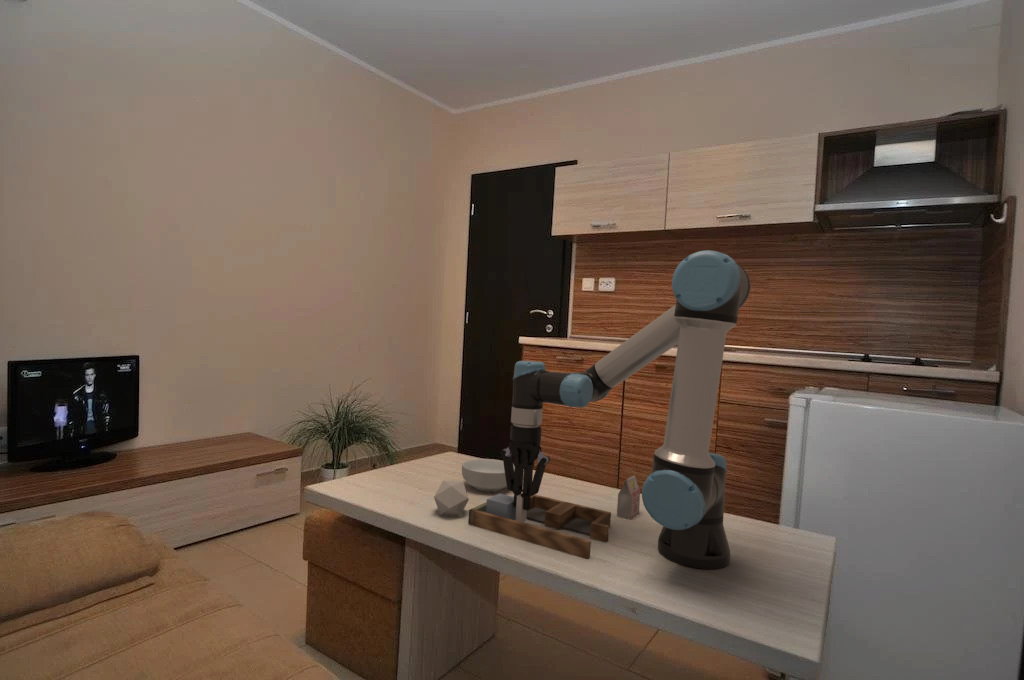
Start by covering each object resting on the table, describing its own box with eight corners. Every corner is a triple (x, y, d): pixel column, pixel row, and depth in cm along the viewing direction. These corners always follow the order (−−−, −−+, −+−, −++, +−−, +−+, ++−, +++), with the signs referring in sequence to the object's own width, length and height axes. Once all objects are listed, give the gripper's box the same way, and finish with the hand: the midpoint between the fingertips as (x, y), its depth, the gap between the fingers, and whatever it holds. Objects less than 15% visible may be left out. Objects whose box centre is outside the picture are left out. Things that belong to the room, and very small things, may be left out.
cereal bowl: (495, 500, 142) (497, 475, 142) (449, 488, 151) (450, 465, 151) (525, 487, 157) (527, 464, 157) (481, 477, 165) (483, 455, 165)
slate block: (518, 522, 126) (520, 498, 126) (506, 529, 121) (507, 504, 121) (498, 516, 129) (499, 493, 129) (485, 523, 124) (486, 499, 124)
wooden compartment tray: (621, 528, 125) (621, 514, 125) (587, 559, 107) (588, 542, 107) (513, 502, 141) (514, 489, 141) (468, 524, 123) (468, 509, 123)
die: (452, 525, 123) (476, 490, 126) (423, 503, 125) (448, 469, 128) (455, 525, 131) (477, 492, 134) (427, 505, 133) (450, 473, 136)
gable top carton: (616, 516, 135) (618, 479, 135) (626, 510, 140) (628, 474, 140) (630, 519, 133) (632, 481, 133) (639, 513, 138) (641, 476, 138)
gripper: (557, 426, 122) (551, 523, 122) (511, 419, 129) (506, 511, 129) (543, 430, 116) (537, 533, 116) (495, 422, 123) (489, 519, 123)
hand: (520, 521), depth 123 cm, fingers closed
